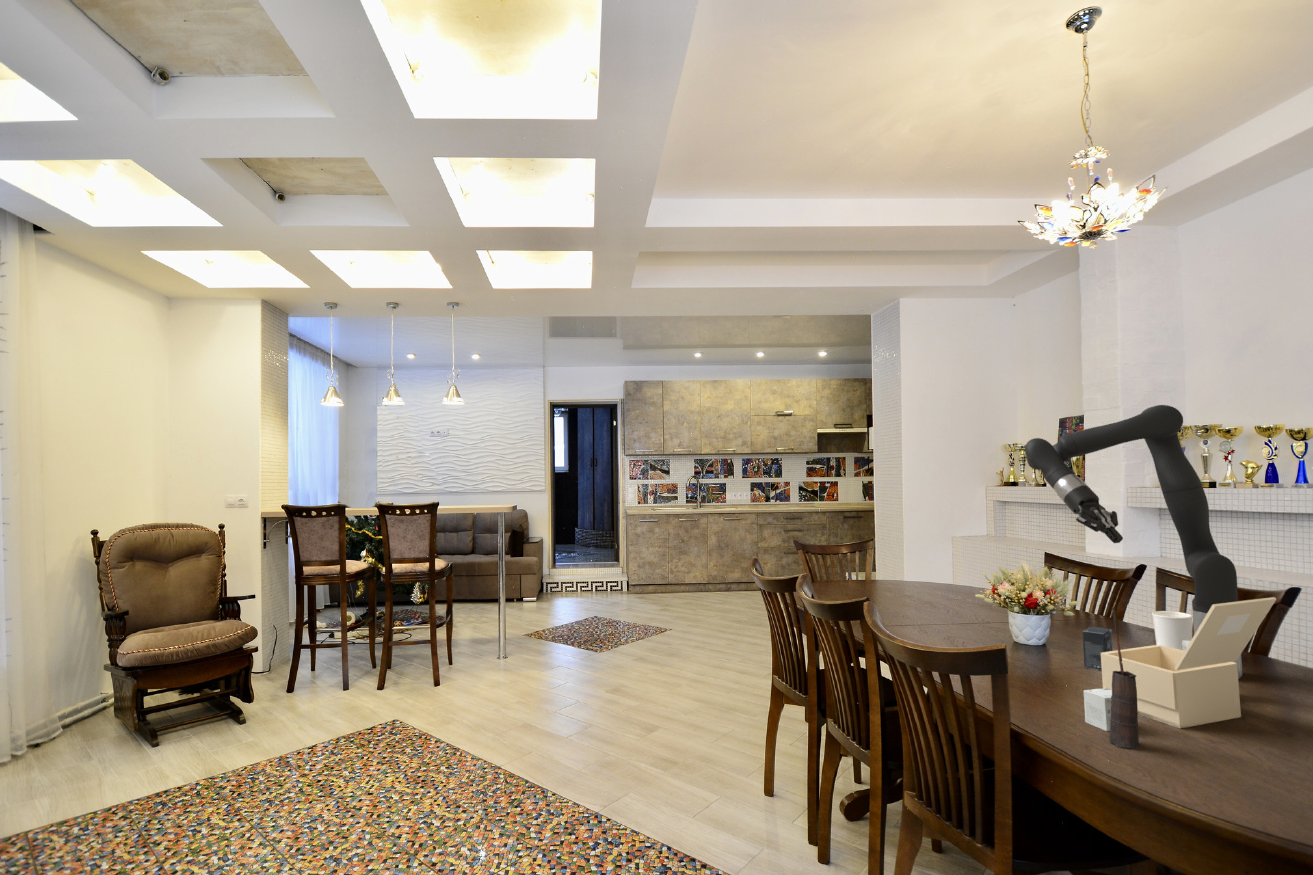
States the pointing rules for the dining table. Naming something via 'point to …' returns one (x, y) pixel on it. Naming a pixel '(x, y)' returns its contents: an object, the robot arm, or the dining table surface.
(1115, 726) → the butter churn
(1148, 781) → the dining table surface
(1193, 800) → the dining table surface
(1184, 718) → the carton
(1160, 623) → the candle holder
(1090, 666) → the box
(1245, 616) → the top flap
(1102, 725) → the skincare box
